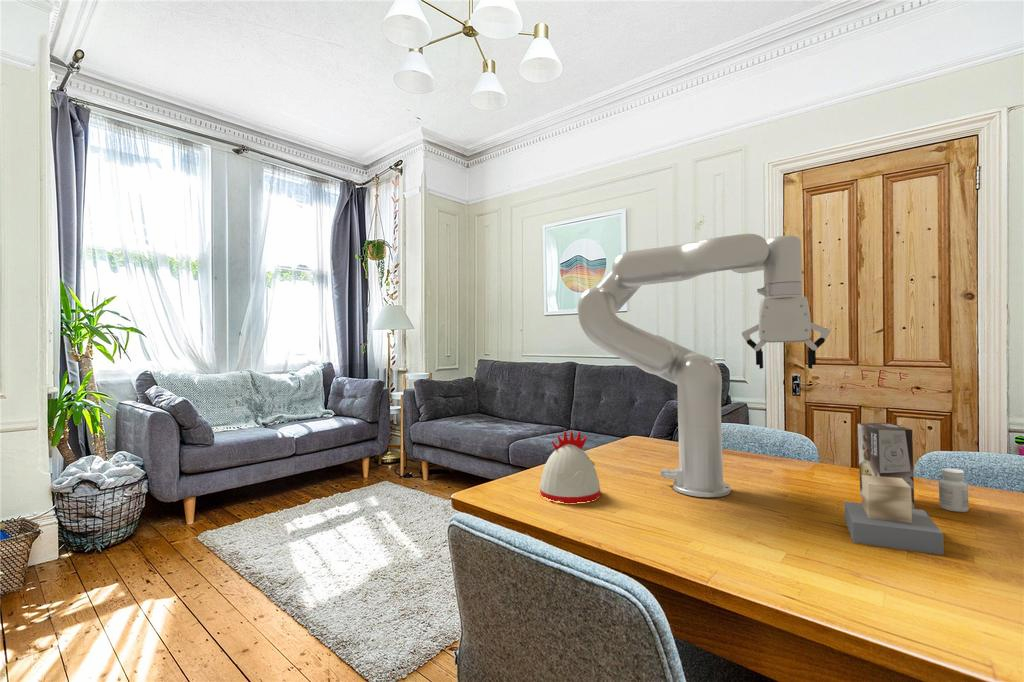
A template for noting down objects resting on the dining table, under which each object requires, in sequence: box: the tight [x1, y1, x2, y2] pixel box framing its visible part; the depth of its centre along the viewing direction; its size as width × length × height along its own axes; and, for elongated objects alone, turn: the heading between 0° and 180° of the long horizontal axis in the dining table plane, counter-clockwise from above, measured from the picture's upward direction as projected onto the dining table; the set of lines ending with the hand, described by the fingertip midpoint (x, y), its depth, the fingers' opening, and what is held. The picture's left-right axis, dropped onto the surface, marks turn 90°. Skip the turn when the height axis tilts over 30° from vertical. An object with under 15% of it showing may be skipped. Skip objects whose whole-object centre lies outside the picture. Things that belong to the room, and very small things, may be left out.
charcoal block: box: [844, 501, 945, 556], centre depth 88 cm, size 12×12×4 cm
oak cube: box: [861, 475, 912, 523], centre depth 88 cm, size 6×6×6 cm
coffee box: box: [857, 422, 915, 509], centre depth 105 cm, size 9×6×16 cm
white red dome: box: [539, 430, 601, 503], centre depth 116 cm, size 14×14×15 cm
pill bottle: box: [938, 467, 970, 513], centre depth 100 cm, size 4×4×8 cm
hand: (785, 368), depth 112 cm, fingers open, 9 cm apart
